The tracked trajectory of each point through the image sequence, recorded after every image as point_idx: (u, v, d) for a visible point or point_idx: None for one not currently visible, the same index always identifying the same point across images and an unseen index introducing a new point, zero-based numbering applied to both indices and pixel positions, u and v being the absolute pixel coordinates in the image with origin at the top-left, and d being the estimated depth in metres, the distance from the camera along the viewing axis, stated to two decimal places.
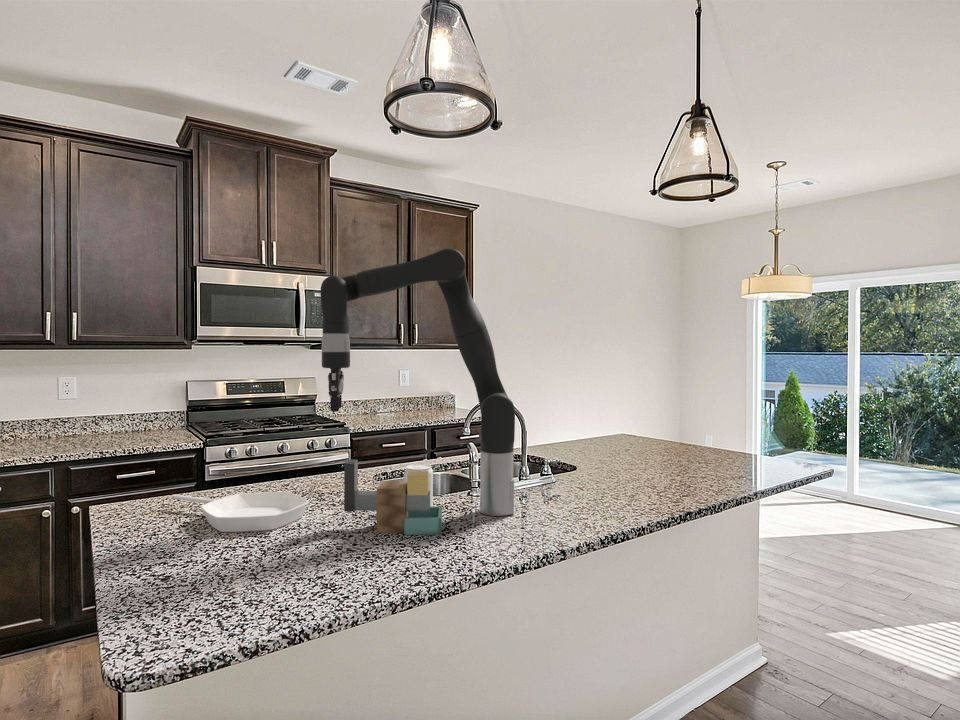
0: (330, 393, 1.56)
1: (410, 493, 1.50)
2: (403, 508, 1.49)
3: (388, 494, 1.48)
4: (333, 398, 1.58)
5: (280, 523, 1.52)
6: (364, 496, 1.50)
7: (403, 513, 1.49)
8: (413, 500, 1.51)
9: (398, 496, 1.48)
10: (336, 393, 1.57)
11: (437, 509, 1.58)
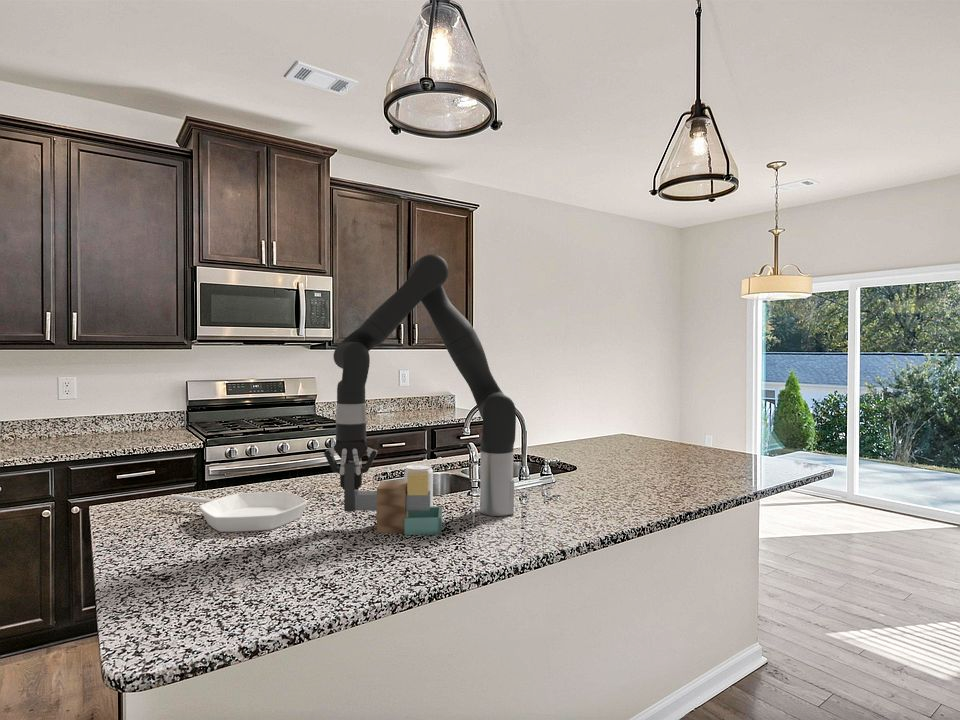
0: (367, 471, 1.51)
1: (410, 493, 1.50)
2: (403, 508, 1.49)
3: (388, 494, 1.48)
4: (361, 475, 1.52)
5: (279, 523, 1.52)
6: (364, 496, 1.50)
7: (403, 513, 1.49)
8: (413, 500, 1.51)
9: (398, 496, 1.48)
10: None
11: (437, 509, 1.58)
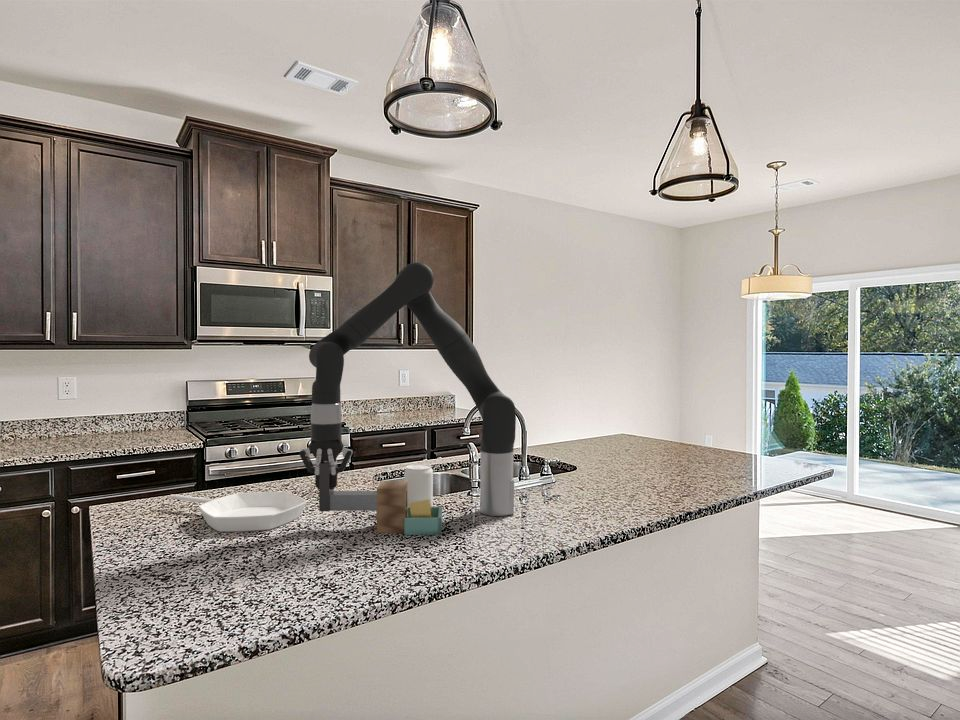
0: (342, 471, 1.51)
1: (411, 506, 1.51)
2: (403, 508, 1.49)
3: (388, 494, 1.48)
4: (336, 475, 1.51)
5: (278, 523, 1.52)
6: (339, 496, 1.50)
7: (403, 513, 1.49)
8: None
9: (398, 496, 1.48)
10: (344, 468, 1.52)
11: (437, 509, 1.58)
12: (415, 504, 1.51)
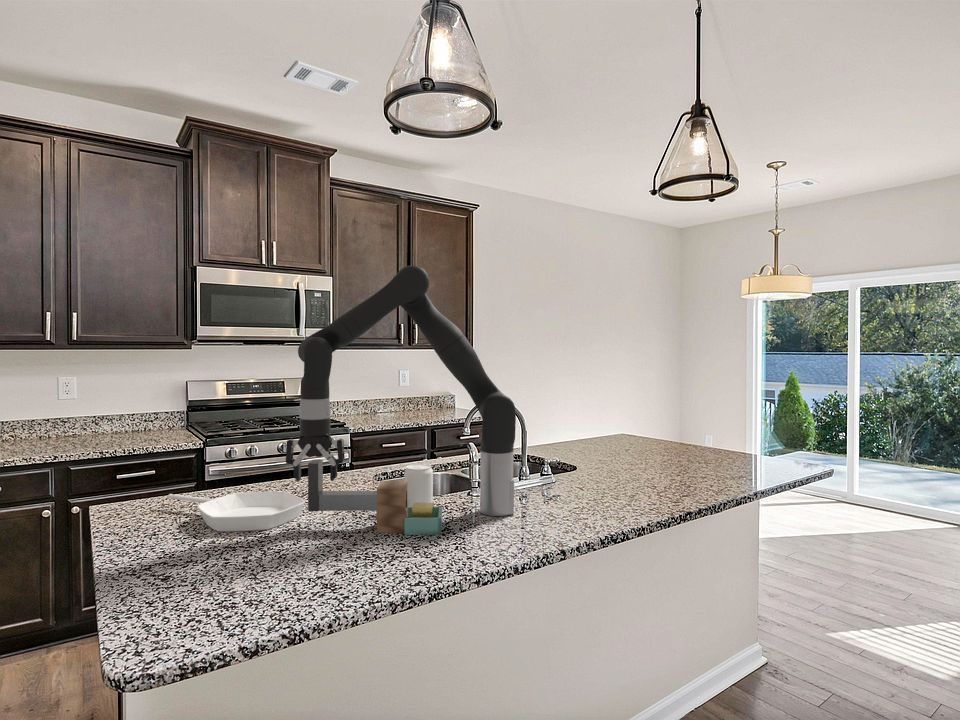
0: (343, 460, 1.51)
1: (413, 510, 1.50)
2: (403, 508, 1.49)
3: (388, 494, 1.48)
4: (336, 466, 1.51)
5: (276, 523, 1.52)
6: (328, 496, 1.50)
7: (403, 513, 1.49)
8: None
9: (398, 496, 1.48)
10: (344, 459, 1.52)
11: (437, 509, 1.58)
12: (418, 509, 1.50)
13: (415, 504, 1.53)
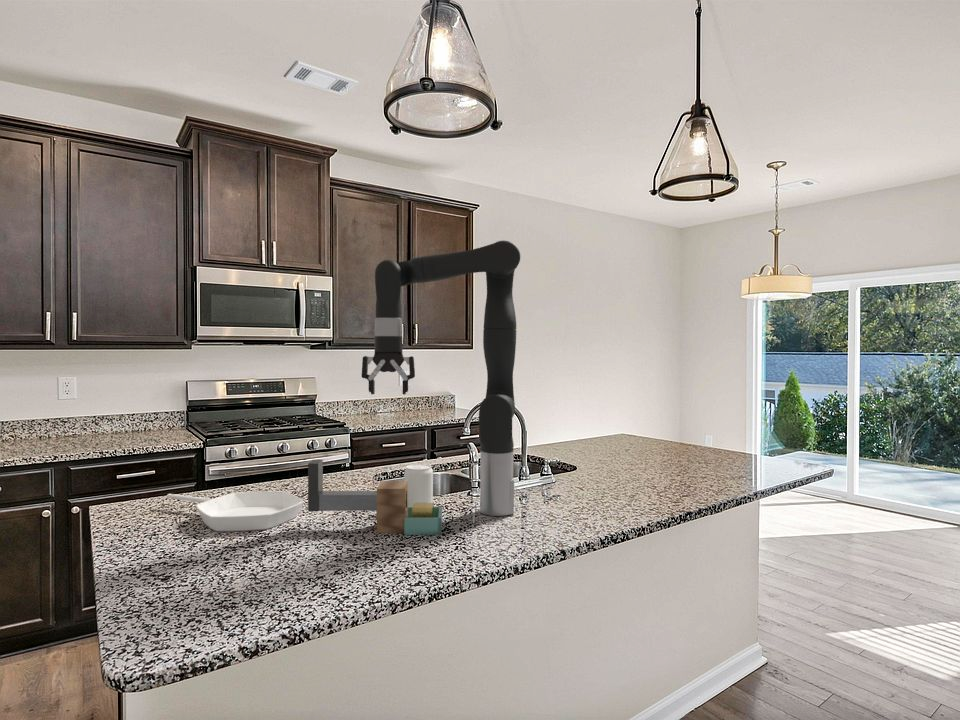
0: (414, 376, 1.63)
1: (413, 510, 1.50)
2: (403, 508, 1.49)
3: (388, 494, 1.48)
4: (407, 381, 1.63)
5: (275, 522, 1.52)
6: (328, 496, 1.50)
7: (403, 513, 1.49)
8: None
9: (398, 496, 1.48)
10: (414, 375, 1.64)
11: (437, 509, 1.58)
12: (418, 509, 1.50)
13: (415, 504, 1.53)
